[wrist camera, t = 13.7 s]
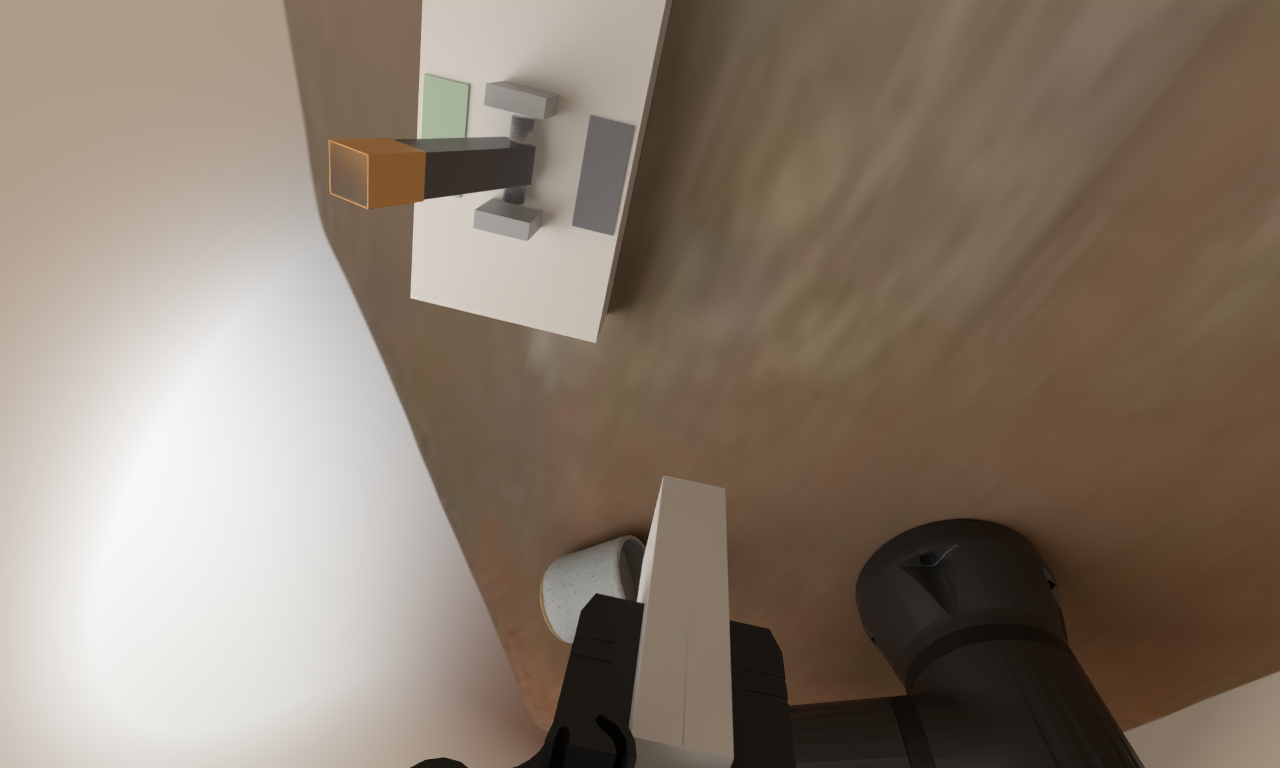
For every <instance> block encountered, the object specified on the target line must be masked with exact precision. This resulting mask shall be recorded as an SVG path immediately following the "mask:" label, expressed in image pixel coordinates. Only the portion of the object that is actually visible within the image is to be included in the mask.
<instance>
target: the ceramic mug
mask: <svg viewBox="0 0 1280 768" xmlns="http://www.w3.org/2000/svg"><path fill="white" fill-rule="evenodd" d="M645 549H646V547H645V546H644V544H643V543H642V542H641V541H640V540H639V539H638V538H637V537H635V536H632V535H626V536H622V537H619V538H617V539H614V540H611V541H607V542H604V543H601V544H598V545H595V546H592V547H589V548H587V549H584V550H581V551H577V552H573V553H570V554H567V555H565V556H563V557H561V558H559V559H557V560H555V561H554V562H552V563H551V564H550V565H549V566H548V567H547V568H546V570H545V572H544V574H543V577H542V581H541V586H540V603H541V608H542V612H543V616H544V619H545V621H546V623H547V625H548V627H549V629H550V630H551V632H552V633H553V634H554V635H555V636H556V637H557V638H558V639H560V640H561V641H563V642H567V643H573V641H574V637H575V633H576V629H577V624H578V620H579V616H580V612H581V610H582V609H583V608H584V607H585V605H586V604H587V603H588V602H589V601H590V599H591V598H592V597H593V596H594V595H595V594H596V593H598V594H603V595H607V596H612V597H617V598H621V599H626V600H630V601H635V602H637V598H638V591H639V584H640V577H641V570H642V563H643V558H644V554H645Z"/></svg>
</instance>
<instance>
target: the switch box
mask: <svg viewBox="0 0 1280 768" xmlns="http://www.w3.org/2000/svg"><path fill="white" fill-rule="evenodd" d="M672 1H673V0H423V6H422V30H421V55H420V79H419V104H418V128H417V139H434V138H470V137H508V138H509V136H510V127H511V118H512V115H521V116H525V117H529V118H532V119H534V120H535V124H534V132H533V139H532V145H533V146H536V150H535V158H534V166H533V174H532V181H531V185H527V187H526V195H525V203H524V204H522V205H516V204H511V203H507V202H505V201H503V191H504V189H497V190H490V191H483V192H476V193H469V194H461V195H454V196H447V197H440V198H433V199H425V200H424V201H423V202H416V203H414V226H413V250H412V275H411V298H412V299H416V300H421V301H425V302H429V303H433V304H437V305H441V306H445V307H449V308H454V309H458V310H462V311H466V312H470V313H474V314H478V315H482V316H487V317H491V318H495V319H499V320H503V321H507V322H511V323H515V324H520V325H524V326H528V327H532V328H536V329H540V330H544V331H548V332H552V333H557V334H561V335H565V336H569V337H573V338H577V339H581V340H585V341H590V342H594V343H596V341H597V339H598V336H599V333H600V331H601V328H602V326H603V323H604V321H605V318H606V315H607V312H608V307H609V302H610V297H611V293H612V288H613V283H614V278H615V274H616V269H617V264H618V259H619V254H620V250H621V245H622V240H623V235H624V231H625V226H626V221H627V216H628V212H629V207H630V202H631V197H632V192H633V188H634V183H635V178H636V173H637V169H638V164H639V159H640V154H641V149H642V145H643V140H644V135H645V130H646V126H647V121H648V116H649V111H650V106H651V102H652V97H653V92H654V87H655V83H656V78H657V73H658V68H659V63H660V59H661V54H662V49H663V44H664V40H665V35H666V30H667V25H668V21H669V16H670V11H671V6H672Z"/></svg>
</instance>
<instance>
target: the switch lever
mask: <svg viewBox="0 0 1280 768" xmlns="http://www.w3.org/2000/svg"><path fill="white" fill-rule="evenodd" d="M534 124H535V120H534V119H532V118H529V117H525V116H521V115H512V118H511V127H510V136H509V138H508V137H470V138H434V139H397V140H392V139H390V138H376V139H336V140H329V170H330V194H332V195H335V196H337V197H340V198H342V199H345V200H347V201H349V202H352V203H354V204H357V205H359V206H362V207H364V208H366V209H373V208H380V207H387V206H394V205H401V204H408V203H416V202H423V201H424V200H425V199H433V198H440V197H447V196H454V195H461V194H469V193H476V192H483V191H490V190H497V189H504V191H503V201H505V202H507V203H511V204H516V205H522V204H524V203H525V195H526V187H527V185H531V181H532V174H533V166H534V158H535V150H536V146H533V145H532V139H533V132H534Z"/></svg>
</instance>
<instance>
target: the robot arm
mask: <svg viewBox="0 0 1280 768" xmlns="http://www.w3.org/2000/svg"><path fill="white" fill-rule="evenodd" d="M1059 601H1060V600H1059V592H1058V587H1057V584H1056V581H1055V579H1054V576H1053V574H1052V572H1051V571H1050V569H1049V567H1048V566H1047V564H1046V563H1045V561H1044V560H1043V558H1042V557H1041V555H1040V554H1039V552H1038V551H1037V550H1036V548H1035V547H1034V546H1033V545H1032V544H1031V543H1030V542H1029V541H1028V540H1027V539H1025V538H1024V537H1023V536H1021V535H1019V534H1018V533H1016V532H1014V531H1012V530H1010V529H1008V528H1005V527H1003V526H1000V525H996V524H993V523H988V522H982V521H974V520H952V521H943V522H937V523H932V524H928V525H924V526H921V527H918V528H915V529H912V530H910V531H907V532H905V533H903V534H901V535H899V536H897V537H895V538H894V539H892V540H890V541H889V542H887V543H886V544H885V545H883V546H882V547H881V548H880V549H879V550H877V551H876V552H875V553H874V554H873V555H872V556H871V558H870V559H869V560H868V561H867V563H866V564H865V566H864V567H863V569H862V571H861V573H860V575H859V578H858V581H857V585H856V602H857V606H858V610H859V613H860V617H861V620H862V624H863V627H864V629H865V631H866V633H867V635H868V637H869V638H870V640H871V641H872V642H873V644H874V645H875V646H876V647H877V649H878V650H879V651H880V652H882V653H883V655H884V656H885V658H886V659H887V661H888V662H889V664H890V665H891V667H892V668H893V670H894V672H895V673H896V675H897V676H898V678H899V679H900V680H901V682H902V683H903V685H904V687H905V690H906V693H907V695H905V696H894V697H880V698H869V699H858V700H847V701H836V702H825V703H814V704H803V705H792V706H789V704H788V703H787V700H788V696H787V687H786V683H785V671H784V663H783V655H782V651H781V650H780V648H779V646H778V644H777V642H776V640H775V639H774V637H773V635H772V633H771V631H770V629H767V628H762V627H758V626H753V625H749V624H744V623H739V622H735V621H730V620H729V595H728V565H727V534H726V503H725V488H721V487H716V486H711V485H707V484H702V483H697V482H693V481H688V480H683V479H679V478H674V477H669V476H665V475H664V476H663V480H662V484H661V488H660V492H659V496H658V500H657V504H656V509H655V513H654V517H653V521H652V525H651V529H650V533H649V537H648V541H647V545H646V549H645V554H644V558H643V563H642V570H641V577H640V584H639V591H638V598H637V602H635V601H630V600H626V599H621V598H617V597H612V596H607V595H603V594H598V593H596V594H595V595H594V596H593V597H592V598H591V599H590V601H589V602H588V603H587V604H586V605H585V607H584V608H583V609H582V610H581V612H580V616H579V620H578V624H577V629H576V633H575V637H574V641H573V645H572V649H571V653H570V657H569V661H568V665H567V669H566V673H565V677H564V681H563V685H562V689H561V693H560V697H559V701H558V705H557V709H556V713H555V718H554V722H553V724H552V726H551V728H550V730H549V732H548V734H547V737H546V739H545V744H544V745H543V747H542V748H541V750H540V751H539V752H538V753H537V754H536V755H535V756H533V757H532V758H531V759H530V760H528V761H526V762H525V763H523V764H521V765H519V766H517V767H514V768H1145V767H1144V766H1143V764H1142V762H1141V761H1140V759H1139V758H1138V756H1137V754H1136V753H1135V751H1134V750H1133V748H1132V746H1131V745H1130V743H1129V742H1128V740H1127V738H1126V737H1125V735H1124V734H1123V732H1122V730H1121V729H1120V727H1119V726H1118V724H1117V722H1116V721H1115V719H1114V718H1113V716H1112V714H1111V713H1110V711H1109V710H1108V708H1107V706H1106V705H1105V703H1104V702H1103V700H1102V698H1101V697H1100V695H1099V694H1098V692H1097V691H1096V689H1095V687H1094V686H1093V684H1092V683H1091V681H1090V679H1089V678H1088V676H1087V675H1086V673H1085V671H1084V670H1083V668H1082V667H1081V665H1080V664H1079V662H1078V660H1077V659H1076V657H1075V656H1074V654H1073V652H1072V650H1071V649H1070V647H1069V645H1068V639H1067V634H1066V629H1065V624H1064V619H1063V614H1062V611H1061V608H1060V605H1059ZM411 768H468V767H466V766H465V765H464V764H463V763H462V762H459V761H456V760H452V759H448V758H436V759H428V760H424V761H422V762H420V763H418V764H416V765H415V766H413V767H411Z"/></svg>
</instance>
